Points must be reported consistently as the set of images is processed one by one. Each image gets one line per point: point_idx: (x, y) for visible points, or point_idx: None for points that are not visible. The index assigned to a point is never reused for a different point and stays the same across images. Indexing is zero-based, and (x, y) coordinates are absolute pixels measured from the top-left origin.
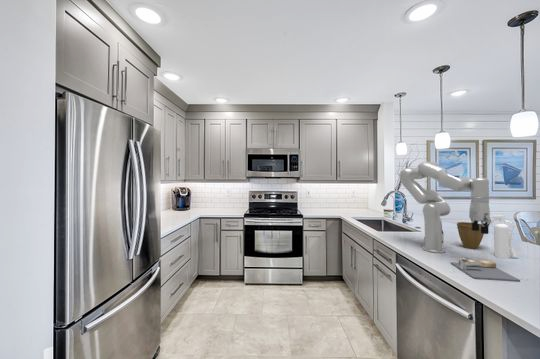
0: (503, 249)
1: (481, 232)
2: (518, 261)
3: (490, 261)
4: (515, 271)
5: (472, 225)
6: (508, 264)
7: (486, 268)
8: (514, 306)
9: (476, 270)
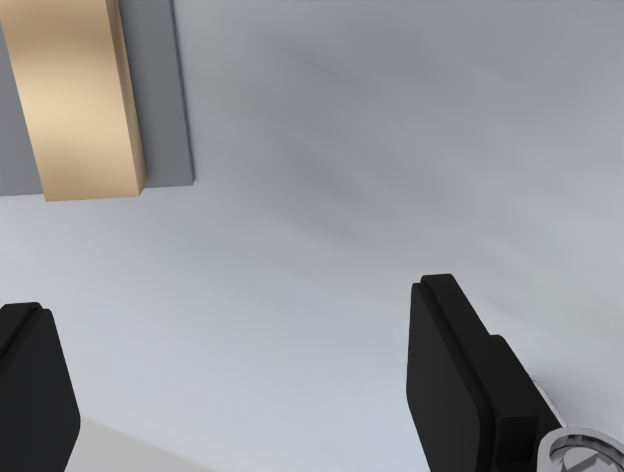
0: None
1: (1, 315)
2: (379, 457)
3: (118, 183)
4: (86, 313)
5: (476, 363)
6: (280, 356)
7: (10, 73)
8: None
9: None
